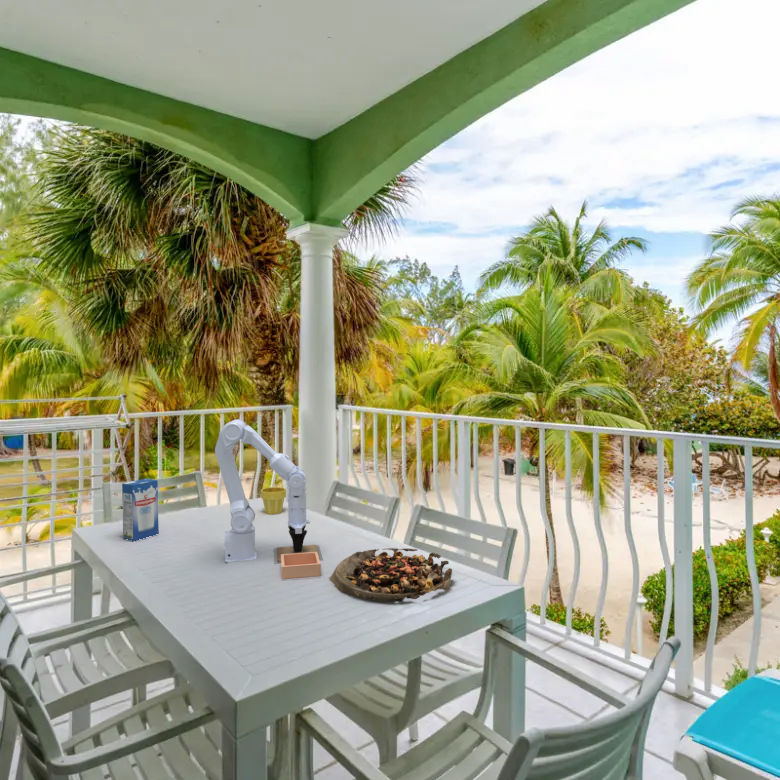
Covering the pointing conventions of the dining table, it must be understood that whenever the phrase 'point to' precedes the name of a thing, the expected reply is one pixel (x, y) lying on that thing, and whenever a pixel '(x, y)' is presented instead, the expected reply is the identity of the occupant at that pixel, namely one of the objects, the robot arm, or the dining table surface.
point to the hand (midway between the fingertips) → (297, 549)
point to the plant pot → (273, 499)
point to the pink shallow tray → (300, 565)
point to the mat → (280, 562)
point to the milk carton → (140, 509)
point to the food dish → (390, 575)
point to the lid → (291, 550)
